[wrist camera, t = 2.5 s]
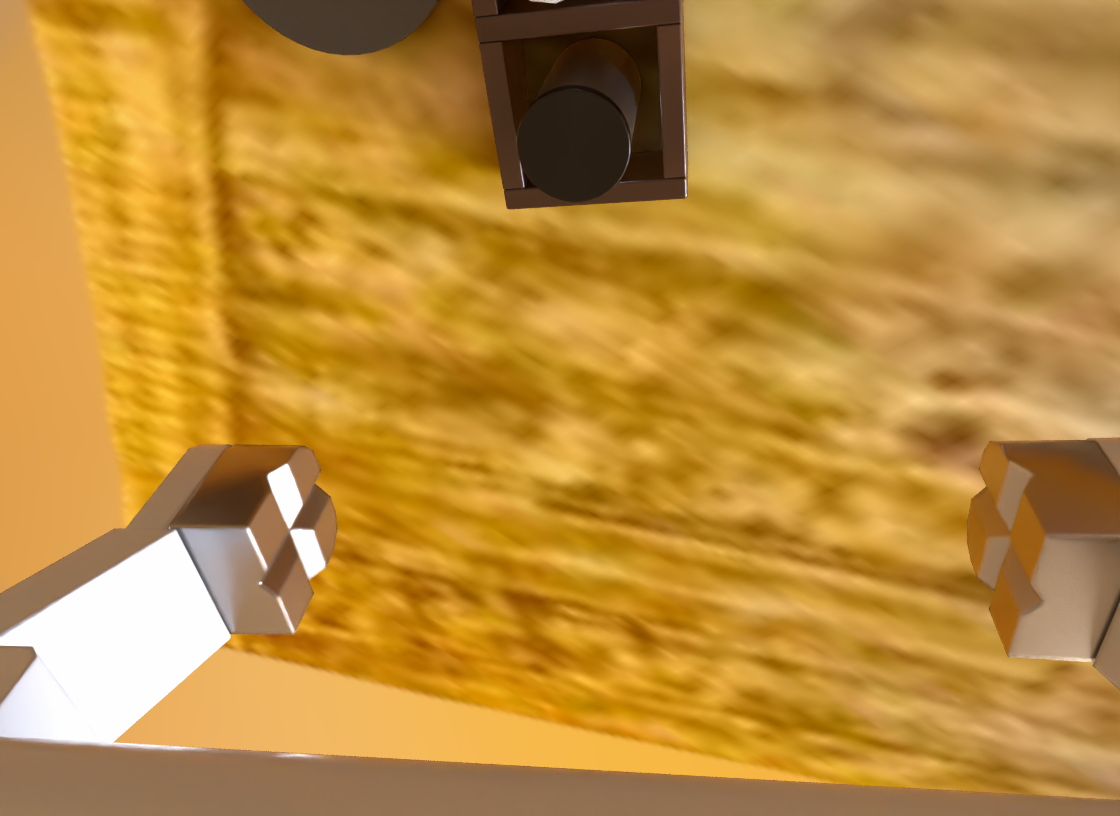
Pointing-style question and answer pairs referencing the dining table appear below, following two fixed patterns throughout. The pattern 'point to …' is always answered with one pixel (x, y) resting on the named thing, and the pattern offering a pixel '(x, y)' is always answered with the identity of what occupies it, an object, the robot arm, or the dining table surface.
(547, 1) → the rook chess piece
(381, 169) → the dining table surface
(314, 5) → the coaster
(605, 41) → the spice tin
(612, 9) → the spice rack
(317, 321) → the dining table surface
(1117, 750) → the dining table surface
